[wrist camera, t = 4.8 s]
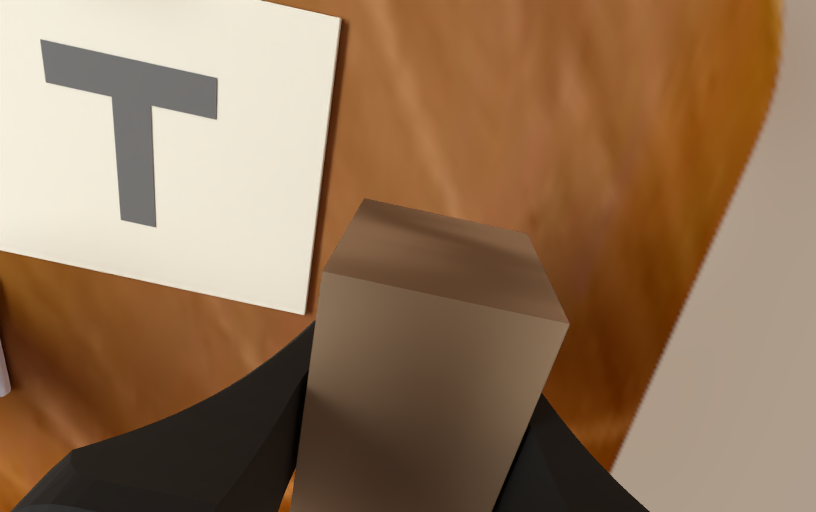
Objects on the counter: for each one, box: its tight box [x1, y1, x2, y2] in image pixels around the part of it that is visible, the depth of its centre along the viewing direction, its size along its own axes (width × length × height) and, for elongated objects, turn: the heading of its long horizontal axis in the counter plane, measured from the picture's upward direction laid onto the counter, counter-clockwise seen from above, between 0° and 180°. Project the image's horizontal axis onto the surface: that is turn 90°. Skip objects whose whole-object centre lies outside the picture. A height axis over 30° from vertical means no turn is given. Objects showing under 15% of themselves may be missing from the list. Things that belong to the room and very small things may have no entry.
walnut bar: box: [290, 198, 570, 512], centre depth 12 cm, size 4×8×4 cm, turn 169°
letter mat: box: [0, 0, 342, 315], centre depth 19 cm, size 16×13×1 cm
